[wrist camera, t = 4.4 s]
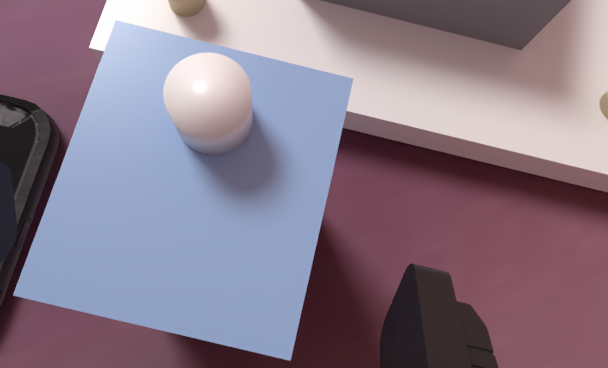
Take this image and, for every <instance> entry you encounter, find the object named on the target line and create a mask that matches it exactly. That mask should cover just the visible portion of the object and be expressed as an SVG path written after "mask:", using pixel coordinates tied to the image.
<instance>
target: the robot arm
mask: <svg viewBox="0 0 608 368" xmlns="http://www.w3.org/2000/svg"><path fill="white" fill-rule="evenodd" d="M16 235H17V221H16V211H15V201H14V191H13V181H12V174H11V171H10V169H9V167H8V166H7V165H5V164H2V163H0V263H1V262H2V261H3V260H4V259H5V258H6V257H7V255H8V254H9V253H10V251H11V249H12V247H13V245H14V242H15V239H16ZM380 364H381V368H498V365H497V362H496V358H495V356H494V355H493V348H492V344H491V341H490V337H489V334H488V330H487V327H486V326H485V324H484V323H483V321H482V320H481V319H480V317H479V316H478V315H477V313H476V312H475V310H474V309H473V308H472V306H471V305H470V304H466V303H461V302H457V301H456V297H455V293H454V288H453V284H452V280H451V276H450V274H449V273H448V272H444V271H440V270H436V269H432V268H427V267H423V266H419V265H415V264H410V265H409V266H408V267H407V269H406V271H405V273H404V275H403V278H402V280H401V282H400V285H399V287H398V289H397V292H396V294H395V296H394V299H393V301H392V304H391V306H390V308H389V311H388V313H387V315H386V318H385V321H384V324H383V328H382V333H381V341H380Z"/></svg>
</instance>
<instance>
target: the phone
mask: <svg viewBox="0 0 608 368" xmlns="http://www.w3.org/2000/svg"><path fill="white" fill-rule="evenodd" d="M59 141H60V135H59V129H58V127H57V125H56V123H55V121H54V120H53V119H52V118H51V117H50V116H49V115H48V114H46V113H45V112H44V111H43V110H42V109H41V108H39V107H38V106H37V105H36V104H34V103H31V102H29V101H26V100H22V99H18V98H14V97H9V96H5V95H0V163H2V164H5V165H7V166H8V167H9V169H10V171H11V174H12V181H13V191H14V201H15V211H16V221H17V235H16V239H15V242H14V245H13V247H12V249H11V251H10V253H9V254H8V255H7V257H6V258H5V259H4V260H3V261H2V262H1V263H0V292H1V291H2V294H0V307H1V305H2V302H3V299H4V296H5V294H6V291H7V288H8V285H9V283H10V280H11V277H12V274H13V272H14V269H15V266H16V263H17V261H18V258H19V255H20V252H21V250H22V247H23V244H24V241H25V238H26V236H27V233H28V230H29V227H30V225H31V222H32V219H33V216H34V214H35V211H36V208H37V205H38V203H39V200H40V197H41V194H42V192H43V189H44V186H45V183H46V180H47V178H48V175H49V172H50V169H51V167H52V164H53V161H54V158H55V156H56V153H57V150H58V146H59ZM25 218H26V220H25ZM24 220H25V223H24ZM23 223H24V226H23ZM22 226H23V229H22ZM21 229H22V231H21ZM20 231H21V234H20ZM19 234H20V237H19ZM18 237H19V239H18ZM17 240H18V242H17ZM16 242H17V245H16ZM15 245H16V247H15Z"/></svg>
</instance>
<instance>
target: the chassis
mask: <svg viewBox="0 0 608 368" xmlns="http://www.w3.org/2000/svg"><path fill="white" fill-rule="evenodd" d="M116 20H117V21H121V22H125V23H129V24H134V25H138V26H142V27H146V28H150V29H154V30H158V31H162V32H166V33H170V34H174V35H178V36H182V37H186V38H190V39H194V40H199V41H203V42H207V43H211V44H215V45H219V46H223V47H227V48H231V49H235V50H239V51H243V52H247V53H251V54H255V55H259V56H263V57H268V58H272V59H276V60H280V61H284V62H288V63H292V64H296V65H300V66H304V67H308V68H312V69H316V70H320V71H324V72H328V73H332V74H337V75H341V76H345V77H349V78H353V83H352V88H351V92H350V97H349V101H348V106H347V110H346V115H345V119H344V124H343V128H346V129H350V130H354V131H358V132H362V133H366V134H370V135H374V136H378V137H382V138H387V139H391V140H395V141H399V142H403V143H407V144H411V145H415V146H419V147H423V148H428V149H432V150H436V151H440V152H444V153H448V154H452V155H456V156H460V157H464V158H469V159H473V160H477V161H481V162H485V163H489V164H493V165H497V166H501V167H505V168H509V169H514V170H518V171H522V172H526V173H530V174H534V175H538V176H542V177H546V178H550V179H555V180H559V181H563V182H567V183H571V184H575V185H579V186H583V187H587V188H591V189H596V190H600V191H604V192H608V0H107V2H106V4H105V7H104V10H103V12H102V15H101V17H100V20H99V23H98V25H97V28H96V31H95V33H94V36H93V38H92V41H91V44H90V46H89V48H90V50H91V51H92V53H93V54H94V56H95V57H96V59H97V60H98V62H99V63H100V61H101V58H102V56H103V53H104V50H105V48H106V45H107V42H108V39H109V37H110V34H111V31H112V29H113V26H114V23H115V21H116Z"/></svg>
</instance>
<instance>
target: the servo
mask: <svg viewBox="0 0 608 368" xmlns="http://www.w3.org/2000/svg"><path fill="white" fill-rule="evenodd" d="M352 83H353V78H349V77H345V76H341V75H337V74H332V73H328V72H324V71H320V70H316V69H312V68H308V67H304V66H300V65H296V64H292V63H288V62H284V61H280V60H276V59H272V58H268V57H263V56H259V55H255V54H251V53H247V52H243V51H239V50H235V49H231V48H227V47H223V46H219V45H215V44H211V43H207V42H203V41H199V40H194V39H190V38H186V37H182V36H178V35H174V34H170V33H166V32H162V31H158V30H154V29H150V28H146V27H142V26H138V25H134V24H129V23H125V22H121V21H117V20H116V21H115V23H114V26H113V29H112V31H111V34H110V37H109V39H108V42H107V45H106V48H105V50H104V53H103V56H102V58H101V61H100V64H99V66H98V69H97V72H96V74H95V77H94V80H93V82H92V85H91V88H90V90H89V93H88V96H87V98H86V101H85V104H84V106H83V109H82V112H81V114H80V117H79V120H78V122H77V125H76V128H75V130H74V133H73V136H72V138H71V141H70V144H69V147H68V149H67V152H66V155H65V157H64V160H63V163H62V165H61V168H60V171H59V173H58V176H57V179H56V181H55V184H54V187H53V189H52V192H51V195H50V197H49V200H48V203H47V205H46V208H45V211H44V213H43V216H42V219H41V221H40V224H39V227H38V229H37V232H36V235H35V237H34V240H33V243H32V245H31V248H30V251H29V254H28V256H27V259H26V262H25V264H24V267H23V270H22V272H21V275H20V278H19V280H18V283H17V286H16V288H15V291H14V294H13V296H17V297H22V298H26V299H30V300H34V301H39V302H43V303H47V304H51V305H56V306H60V307H64V308H68V309H73V310H77V311H81V312H85V313H90V314H94V315H98V316H102V317H107V318H111V319H115V320H119V321H124V322H128V323H132V324H136V325H141V326H145V327H149V328H153V329H157V330H162V331H166V332H170V333H174V334H179V335H183V336H187V337H191V338H196V339H200V340H204V341H208V342H213V343H217V344H221V345H225V346H230V347H234V348H238V349H242V350H247V351H251V352H255V353H259V354H264V355H268V356H272V357H276V358H281V359H285V360H289V361H291V357H292V352H293V348H294V343H295V339H296V334H297V330H298V325H299V321H300V316H301V312H302V307H303V303H304V298H305V294H306V290H307V285H308V281H309V276H310V272H311V267H312V263H313V258H314V254H315V249H316V245H317V240H318V236H319V231H320V227H321V222H322V218H323V213H324V209H325V204H326V200H327V195H328V191H329V186H330V182H331V177H332V173H333V169H334V164H335V160H336V155H337V151H338V146H339V142H340V137H341V133H342V128H343V124H344V119H345V115H346V110H347V106H348V101H349V97H350V92H351V88H352Z"/></svg>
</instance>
